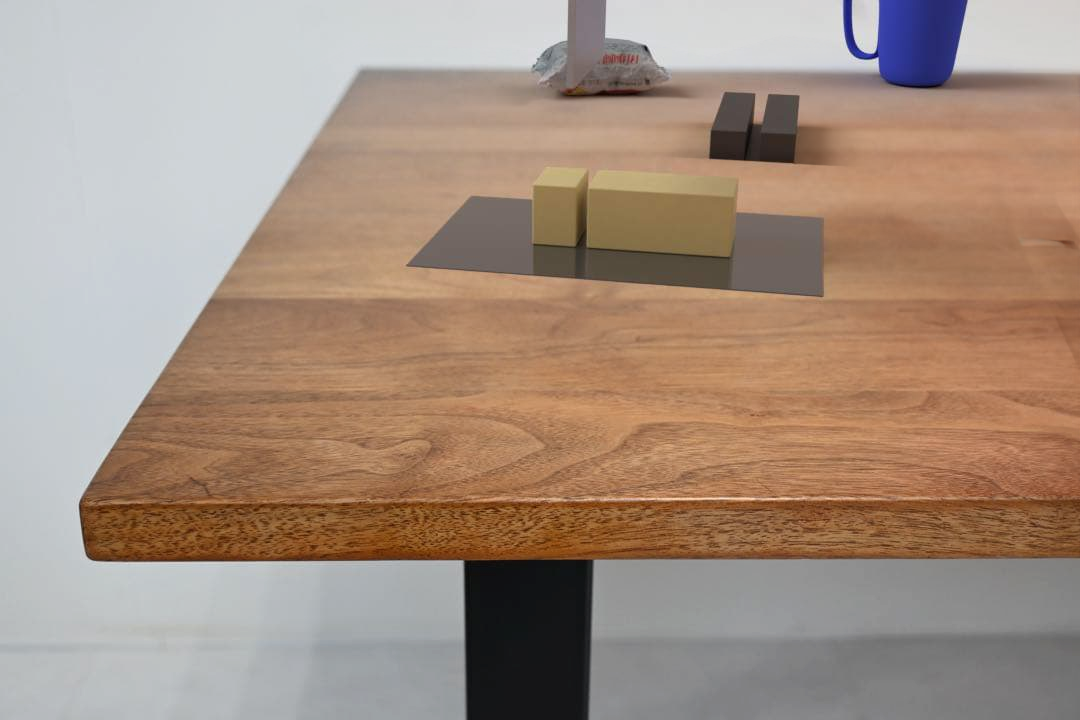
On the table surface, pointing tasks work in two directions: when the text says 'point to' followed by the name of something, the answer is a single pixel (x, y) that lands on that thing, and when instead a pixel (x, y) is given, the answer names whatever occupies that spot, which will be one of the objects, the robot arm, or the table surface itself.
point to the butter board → (630, 252)
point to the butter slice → (560, 206)
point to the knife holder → (755, 129)
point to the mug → (913, 39)
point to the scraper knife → (584, 38)
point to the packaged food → (604, 69)
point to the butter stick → (662, 213)
